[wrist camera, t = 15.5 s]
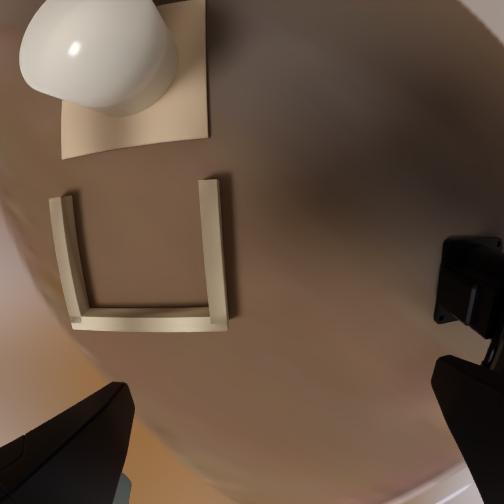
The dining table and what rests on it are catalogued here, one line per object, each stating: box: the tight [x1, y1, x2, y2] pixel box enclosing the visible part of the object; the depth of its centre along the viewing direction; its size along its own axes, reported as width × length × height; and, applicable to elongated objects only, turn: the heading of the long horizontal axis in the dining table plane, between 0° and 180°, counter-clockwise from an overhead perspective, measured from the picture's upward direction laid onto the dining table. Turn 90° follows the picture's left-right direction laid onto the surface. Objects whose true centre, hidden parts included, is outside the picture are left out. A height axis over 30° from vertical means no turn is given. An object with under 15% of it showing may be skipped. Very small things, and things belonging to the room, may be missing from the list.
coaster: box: [61, 0, 208, 159], centre depth 16 cm, size 10×10×1 cm
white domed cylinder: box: [20, 0, 179, 117], centre depth 12 cm, size 11×7×7 cm, turn 3°
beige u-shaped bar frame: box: [49, 179, 229, 332], centre depth 18 cm, size 11×9×2 cm
